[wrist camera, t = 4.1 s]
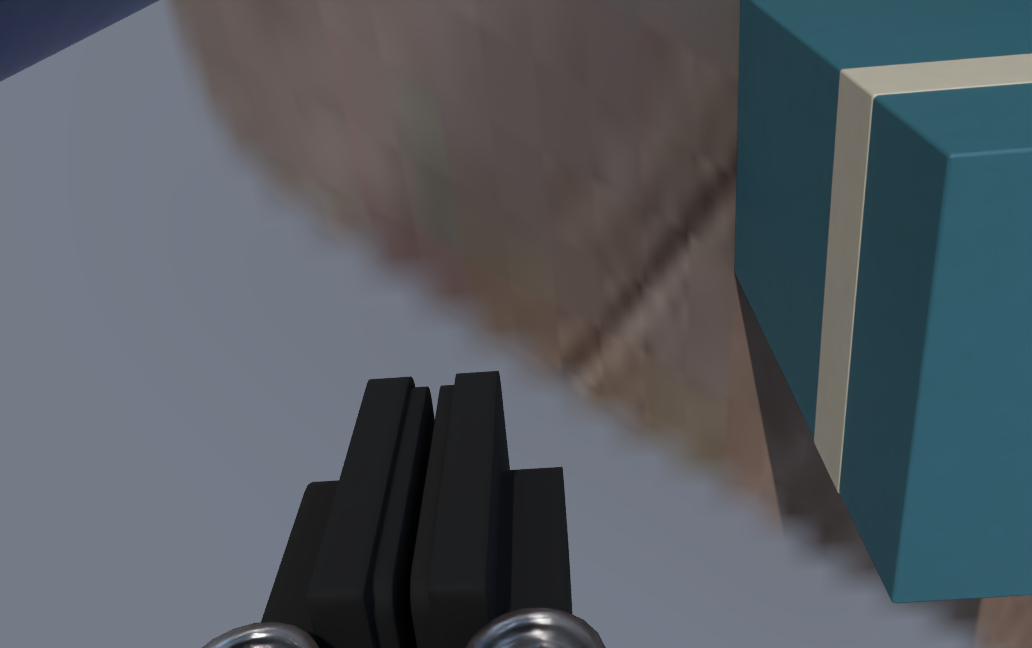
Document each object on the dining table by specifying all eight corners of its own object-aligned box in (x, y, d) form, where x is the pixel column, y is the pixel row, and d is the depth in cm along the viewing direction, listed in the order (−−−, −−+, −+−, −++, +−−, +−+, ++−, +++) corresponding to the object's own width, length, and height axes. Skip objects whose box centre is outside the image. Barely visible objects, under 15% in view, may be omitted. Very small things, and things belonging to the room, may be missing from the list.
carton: (733, 273, 25) (890, 606, 15) (739, -10, 22) (947, 153, 11) (929, 258, 25) (1236, 585, 14) (965, -29, 22) (1394, 118, 11)
